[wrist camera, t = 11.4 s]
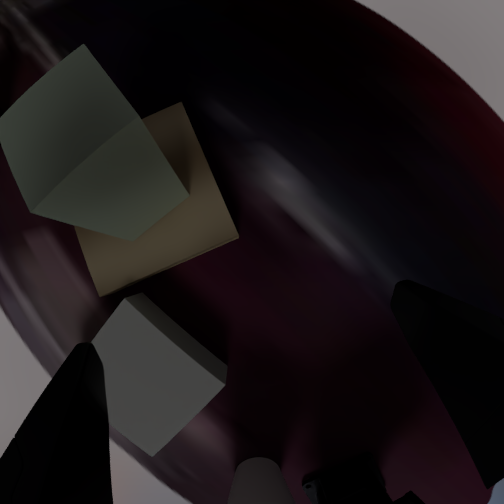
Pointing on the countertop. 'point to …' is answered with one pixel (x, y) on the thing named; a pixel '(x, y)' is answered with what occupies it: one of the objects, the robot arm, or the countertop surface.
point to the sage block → (87, 153)
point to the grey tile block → (154, 373)
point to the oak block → (173, 223)
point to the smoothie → (259, 483)
